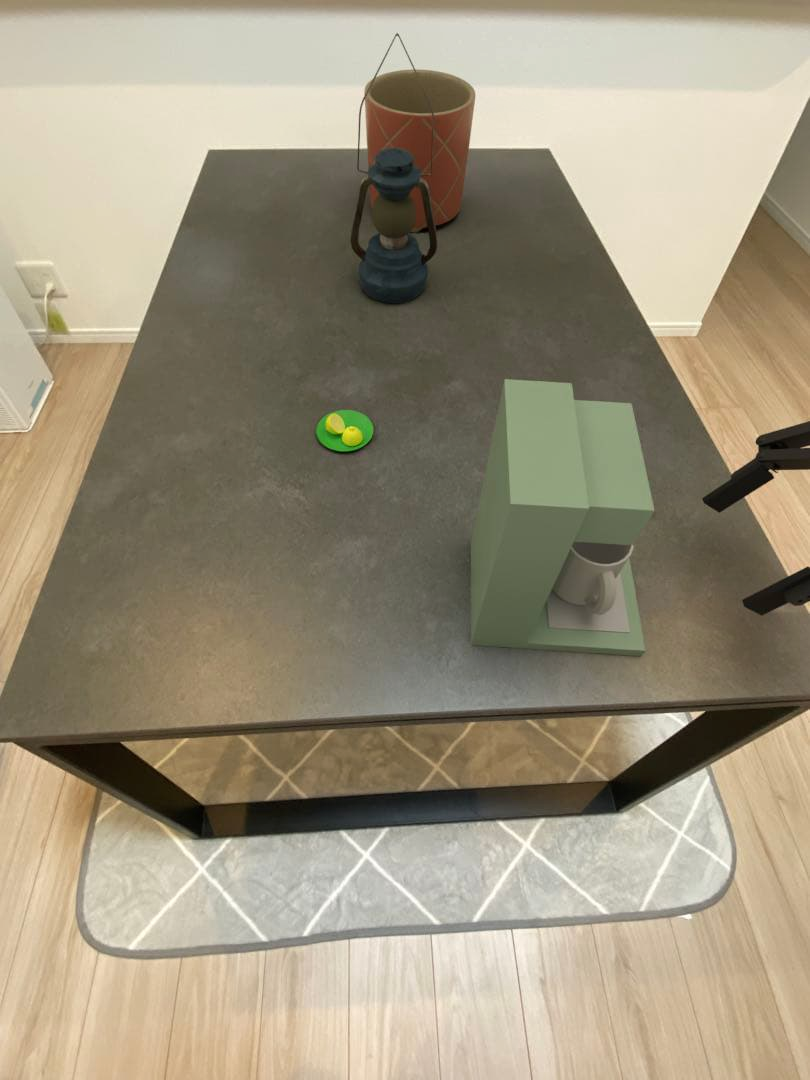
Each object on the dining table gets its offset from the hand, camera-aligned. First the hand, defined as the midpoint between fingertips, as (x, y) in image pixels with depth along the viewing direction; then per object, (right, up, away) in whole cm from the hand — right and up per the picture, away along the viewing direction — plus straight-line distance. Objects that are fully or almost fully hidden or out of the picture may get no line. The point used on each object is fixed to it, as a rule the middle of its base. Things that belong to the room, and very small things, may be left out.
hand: (729, 553), depth 62 cm
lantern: (-36, +46, +43) cm, 72 cm away
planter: (-32, +67, +57) cm, 93 cm away
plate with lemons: (-42, +16, +23) cm, 51 cm away
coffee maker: (-16, -5, +9) cm, 19 cm away
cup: (-13, -5, +7) cm, 16 cm away
